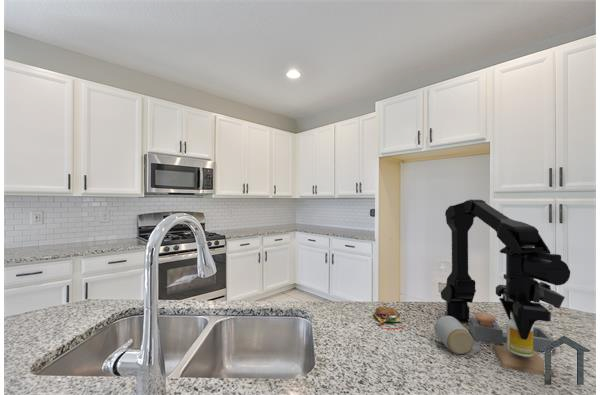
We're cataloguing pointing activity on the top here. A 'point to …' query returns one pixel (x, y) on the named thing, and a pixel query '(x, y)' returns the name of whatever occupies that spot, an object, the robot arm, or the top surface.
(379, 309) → the hamburger
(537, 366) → the walnut pad
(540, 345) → the divided tray
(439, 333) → the grey cylindrical canister
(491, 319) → the tan stopper
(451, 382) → the top surface
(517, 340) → the supplement bottle
